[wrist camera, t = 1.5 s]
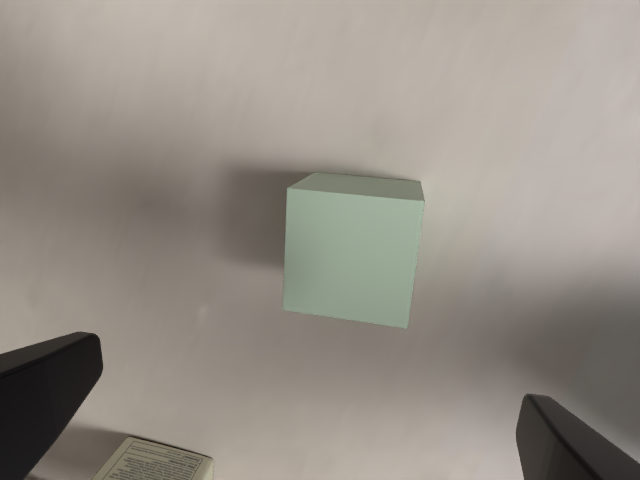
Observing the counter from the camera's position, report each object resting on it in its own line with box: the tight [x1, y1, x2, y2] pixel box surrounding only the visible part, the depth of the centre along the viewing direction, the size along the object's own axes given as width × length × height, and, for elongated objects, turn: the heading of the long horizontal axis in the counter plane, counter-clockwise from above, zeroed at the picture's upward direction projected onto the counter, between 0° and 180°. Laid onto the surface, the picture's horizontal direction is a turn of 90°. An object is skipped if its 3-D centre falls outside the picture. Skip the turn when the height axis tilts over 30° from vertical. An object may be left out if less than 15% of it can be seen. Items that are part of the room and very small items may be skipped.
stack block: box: [283, 172, 425, 329], centre depth 18 cm, size 5×5×5 cm
